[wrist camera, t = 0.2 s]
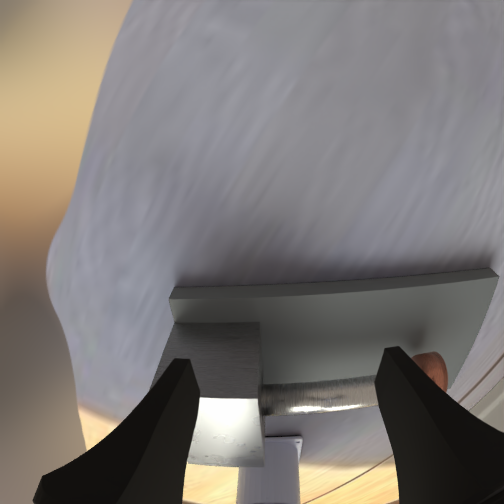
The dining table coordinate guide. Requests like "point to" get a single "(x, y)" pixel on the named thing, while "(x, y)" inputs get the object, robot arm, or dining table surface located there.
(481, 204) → the dining table surface
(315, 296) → the base plate
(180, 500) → the robot arm
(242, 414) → the bearing block
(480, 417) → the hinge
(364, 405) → the shaft
